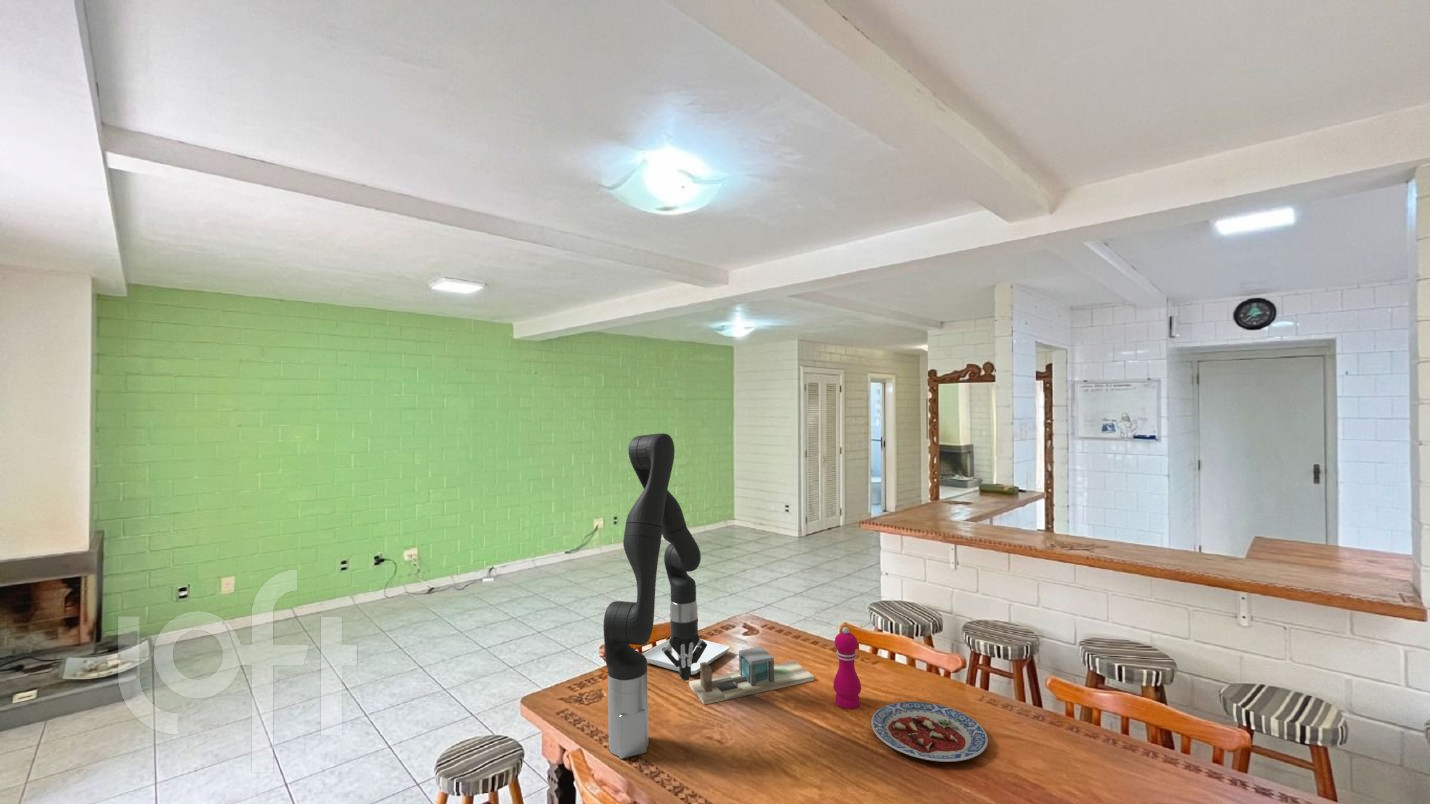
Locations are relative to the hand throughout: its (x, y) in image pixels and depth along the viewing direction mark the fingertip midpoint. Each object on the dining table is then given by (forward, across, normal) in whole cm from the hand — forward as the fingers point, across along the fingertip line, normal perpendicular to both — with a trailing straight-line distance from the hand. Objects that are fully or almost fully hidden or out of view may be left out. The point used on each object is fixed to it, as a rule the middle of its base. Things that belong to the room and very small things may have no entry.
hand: (685, 679), depth 161 cm
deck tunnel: (+5, +21, -1) cm, 21 cm away
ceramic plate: (+5, +45, -44) cm, 63 cm away
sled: (+3, +14, -1) cm, 15 cm away
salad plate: (+6, +8, +22) cm, 24 cm away
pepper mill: (+5, +37, -22) cm, 44 cm away
